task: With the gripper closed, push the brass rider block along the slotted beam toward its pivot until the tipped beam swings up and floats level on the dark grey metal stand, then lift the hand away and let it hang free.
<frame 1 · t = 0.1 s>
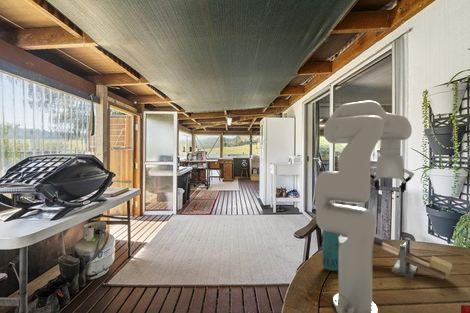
hand: (389, 190, 108), 31 cm above the table, tool pointing down, fingers open, 9 cm apart
beam: (403, 251, 101), point 7 cm above the table, hinge at 13.0°, touching rider
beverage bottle: (330, 270, 100), on the table
stand: (405, 269, 101), on the table
small box: (344, 264, 106), on the table
rider: (438, 269, 93), point 3 cm above the table, tilted 13°, touching beam
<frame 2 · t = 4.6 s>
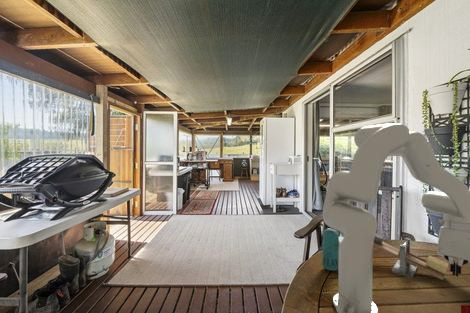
hand: (455, 274, 90), 3 cm above the table, tool pointing down, fingers closed
beam: (402, 251, 101), point 7 cm above the table, hinge at 15.0°, touching rider
rider: (434, 269, 94), point 3 cm above the table, tilted 15°, touching beam, gripper
everything else where it was.
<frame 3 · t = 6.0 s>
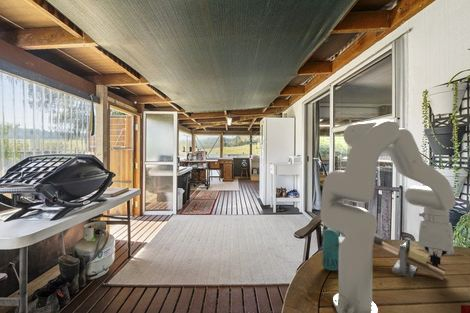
hand: (435, 265, 94), 5 cm above the table, tool pointing down, fingers closed
rider: (416, 260, 98), point 5 cm above the table, tilted 15°, touching beam, gripper
everything else where it was.
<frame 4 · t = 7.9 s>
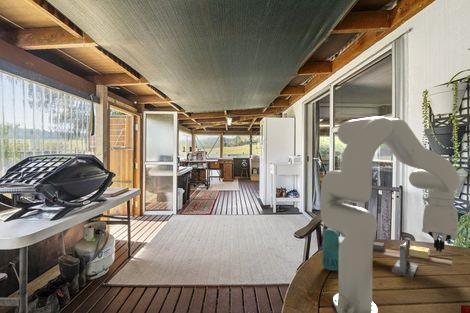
hand: (439, 250, 93), 11 cm above the table, tool pointing down, fingers closed
beam: (406, 252, 100), point 7 cm above the table, hinge at -5.5°, touching rider
rider: (419, 257, 97), point 6 cm above the table, tilted 5°, touching beam
everything else where it was.
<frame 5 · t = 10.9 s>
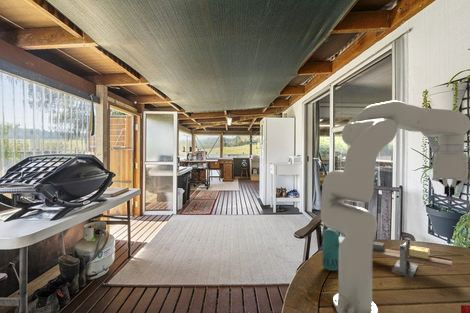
hand: (449, 196, 95), 31 cm above the table, tool pointing down, fingers closed
beam: (406, 252, 100), point 7 cm above the table, hinge at -4.9°, touching rider
everything else where it was.
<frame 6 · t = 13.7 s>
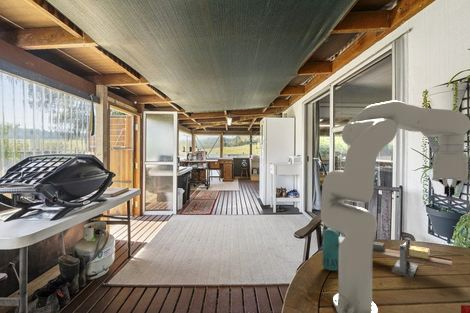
hand: (449, 196, 95), 31 cm above the table, tool pointing down, fingers closed
nothing on the table moved.
at the end: beam at -5° (first picture: +12°); rider inside the target area under the beam (1.5 cm from its centre), point -4.1 cm above the beam's base; rider tilted 5° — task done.
